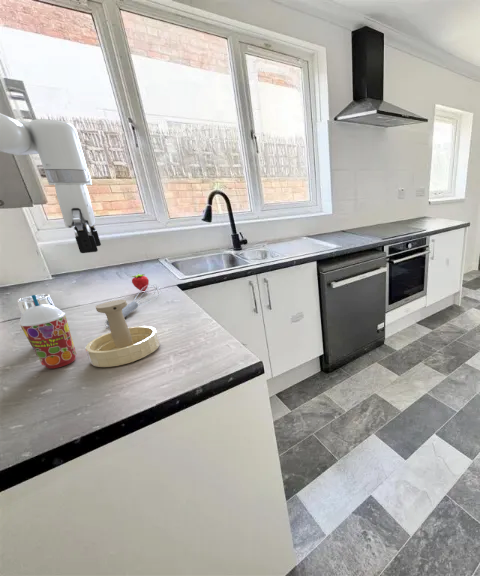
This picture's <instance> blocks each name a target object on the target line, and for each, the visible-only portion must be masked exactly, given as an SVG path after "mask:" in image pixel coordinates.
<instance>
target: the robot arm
mask: <svg viewBox="0 0 480 576" xmlns="http://www.w3.org/2000/svg"><path fill="white" fill-rule="evenodd" d="M0 152H1V153H5V154H10V155H15V156H26V155H27V156H28V155H38V156H39V160H40V162H41V165H42V168H43V172H44V175H45V177H46V180H47V183H48V185H49V186H54V189H55V195H56V197H57V201H58V206H59V208H60V212H61V216H62V219H63V222H64V226H65V227H66V228H68V229H71V228H73V232H74V238H75V241H76V244H77V248H78V251H79V253H80V254H88V253H97V252H98V251H99V249H98V247H101V246H102V244H101V240H100V236H99V233H98V230H96V227H95V224H96V217H95V212H94V208H93V204H92V200H91V197H90V194H89V190H88V187H87V186H92V185H93V183H92V179H91V175H90V172H89V169H88V165H87V163H86V159H85V156H84V152H83V148H82V145H81V142H80V139H79V135H78V132H77V129H76V127H75V126H74V125H72V124H71V123H70V122H66V121H62V120H57V119H47V118H46V119H45V118H39V119H37V118H36V119H32V120H31V121H26V120H25V121H24V120H20V119H16V118H13V117H11V116H8V115H6V114H4V113H1V112H0Z"/></svg>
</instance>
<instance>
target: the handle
mask: <svg viewBox="0 0 480 576" xmlns="http://www.w3.org/2000/svg"><path fill="white" fill-rule="evenodd" d="M127 305H128V303H127V300H126V299H116V300H110V301H107V302H102V303H100V304H97V305H95V310H96V312H97V313H100V314H105V316H106V318H107V319H108V322H109V325H108V327H109V330H110V332H111V335H112V338H113V341H114V343H115V345H116V347H117V348H118V349H120V348H124V347H128V346H131V345H133V344H132V337H131V334H130V331H129V326H128V324H127V323H128V322H126V321H127V320H126V319H125V317H124V316H123V313H122V309H123V308H124V307H126V306H127ZM107 319H106V320H107Z"/></svg>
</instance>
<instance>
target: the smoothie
mask: <svg viewBox="0 0 480 576" xmlns="http://www.w3.org/2000/svg"><path fill="white" fill-rule="evenodd" d="M35 295H36V294H31V296H32V298H33V301H34V303H35V306H32V307H30V308H28V309H27V310H26V311H24V313H23V314H21V316H20V319H19V322H18V325H19V326H20V328H21V329H22V332H23V333H24V335H25V337H26V339H27V341H28V342H29V344H30V346H31V347H32V350H33V351H34V353H35V355H36V356H37V359H38V360H39V362H40V364H41V366H44V367H46V369H59V368H62V367H66V366H67V365H70V364H72V363H73V362H74V361H75V360H76V356H77V351H76V348H75V344H74V341H73V340H74V339H73V337H72V333H71V330H70V327H69V324H68V320H67V317H66V312H65V311H62V310H61V309H60V308H58V307H57V306H56V305H54V306H52V305H47V304H39V303H38V301H37V298H36V296H35Z"/></svg>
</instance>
